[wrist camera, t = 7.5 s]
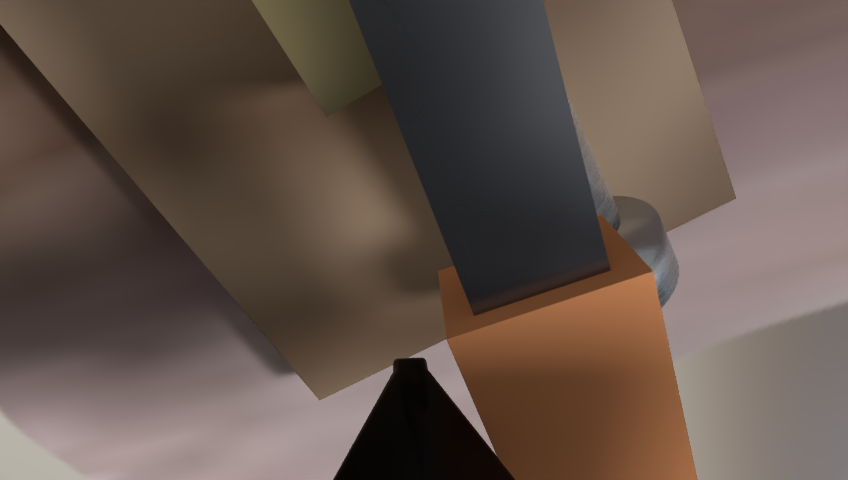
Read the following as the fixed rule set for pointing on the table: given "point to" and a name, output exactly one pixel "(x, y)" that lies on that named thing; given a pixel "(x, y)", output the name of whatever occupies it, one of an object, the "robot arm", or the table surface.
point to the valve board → (352, 153)
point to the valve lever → (528, 246)
